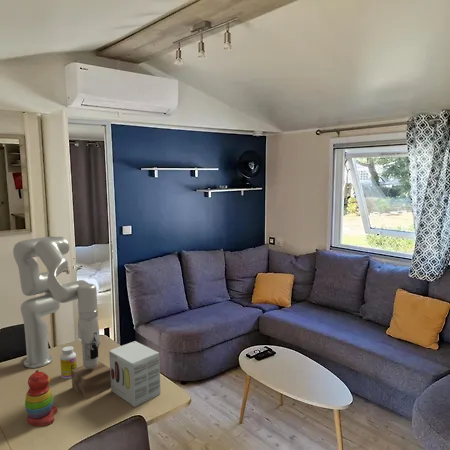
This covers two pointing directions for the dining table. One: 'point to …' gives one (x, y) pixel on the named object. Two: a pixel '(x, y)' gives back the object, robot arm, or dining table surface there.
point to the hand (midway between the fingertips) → (90, 355)
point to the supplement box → (135, 373)
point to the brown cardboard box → (91, 379)
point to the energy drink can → (88, 355)
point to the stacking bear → (39, 400)
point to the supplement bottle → (68, 362)
